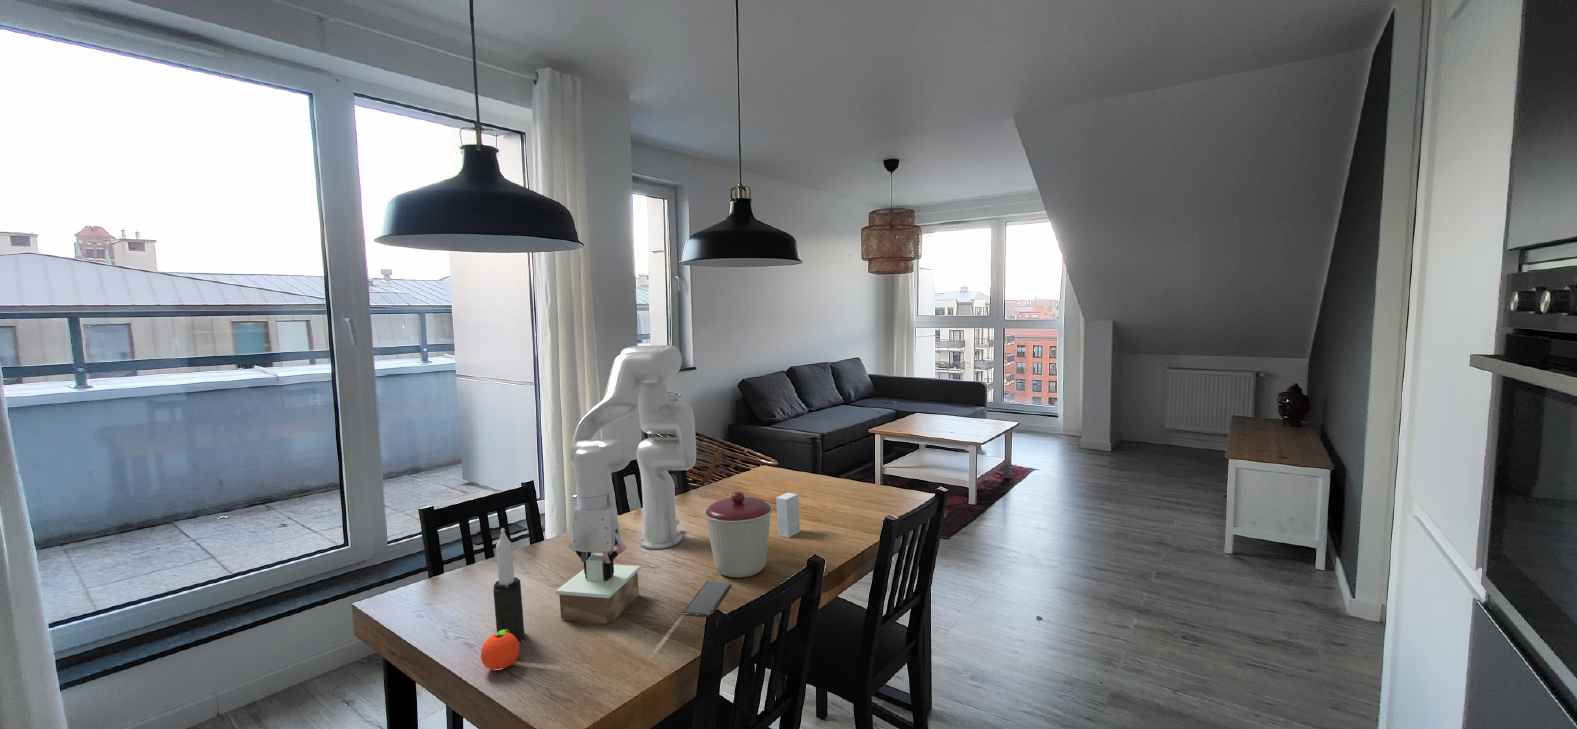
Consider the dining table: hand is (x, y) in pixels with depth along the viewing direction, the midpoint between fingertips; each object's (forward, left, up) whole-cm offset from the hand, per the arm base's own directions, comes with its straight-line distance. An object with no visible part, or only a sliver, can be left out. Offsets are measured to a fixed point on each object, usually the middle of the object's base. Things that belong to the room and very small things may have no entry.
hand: (599, 576), depth 142 cm
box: (0, 0, -8) cm, 8 cm away
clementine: (+24, -8, -8) cm, 27 cm away
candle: (+16, -12, -8) cm, 22 cm away
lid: (0, 0, -2) cm, 2 cm away
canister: (-26, +26, -8) cm, 38 cm away
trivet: (-9, +18, -8) cm, 22 cm away
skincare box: (-53, +33, -8) cm, 63 cm away
